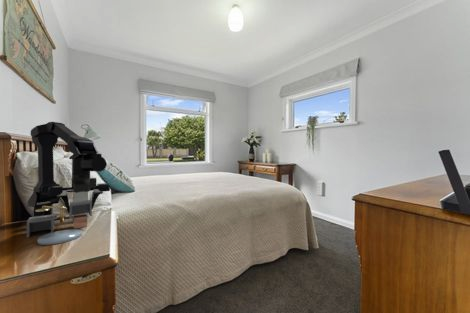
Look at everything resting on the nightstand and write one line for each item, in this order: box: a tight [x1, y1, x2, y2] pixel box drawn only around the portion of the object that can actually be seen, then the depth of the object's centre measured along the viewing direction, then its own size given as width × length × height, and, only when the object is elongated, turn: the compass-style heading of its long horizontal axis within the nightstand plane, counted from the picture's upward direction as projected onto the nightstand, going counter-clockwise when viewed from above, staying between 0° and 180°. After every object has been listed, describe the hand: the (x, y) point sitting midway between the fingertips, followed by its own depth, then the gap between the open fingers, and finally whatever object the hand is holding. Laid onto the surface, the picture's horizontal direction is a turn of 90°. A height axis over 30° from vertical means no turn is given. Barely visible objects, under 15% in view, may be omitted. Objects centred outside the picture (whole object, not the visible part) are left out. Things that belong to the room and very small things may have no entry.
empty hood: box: [26, 213, 55, 238], centre depth 72 cm, size 7×7×5 cm
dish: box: [37, 228, 83, 246], centre depth 67 cm, size 11×11×1 cm
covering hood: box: [68, 199, 93, 219], centre depth 79 cm, size 7×7×5 cm
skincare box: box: [72, 191, 90, 218], centre depth 93 cm, size 8×6×15 cm
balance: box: [35, 205, 85, 227], centre depth 83 cm, size 16×5×8 cm, turn 130°
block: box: [72, 214, 88, 229], centre depth 79 cm, size 4×4×4 cm
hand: (80, 211), depth 79 cm, fingers closed on covering hood, 7 cm apart
